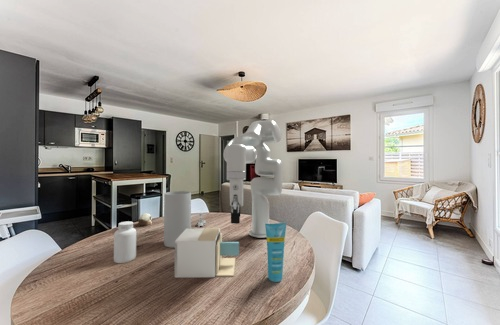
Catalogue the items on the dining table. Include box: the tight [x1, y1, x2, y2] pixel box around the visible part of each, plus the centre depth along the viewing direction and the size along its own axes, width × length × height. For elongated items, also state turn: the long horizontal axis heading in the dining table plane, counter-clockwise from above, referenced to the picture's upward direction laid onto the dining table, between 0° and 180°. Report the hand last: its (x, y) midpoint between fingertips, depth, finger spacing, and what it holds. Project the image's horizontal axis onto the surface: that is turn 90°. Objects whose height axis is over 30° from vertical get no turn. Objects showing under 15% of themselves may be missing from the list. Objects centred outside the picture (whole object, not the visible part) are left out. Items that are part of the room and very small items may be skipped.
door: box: [219, 232, 240, 262], centre depth 83 cm, size 8×7×10 cm
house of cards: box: [196, 213, 207, 227], centre depth 133 cm, size 9×9×8 cm
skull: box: [134, 212, 153, 227], centre depth 131 cm, size 12×10×10 cm
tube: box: [265, 222, 287, 283], centre depth 72 cm, size 7×5×19 cm, turn 103°
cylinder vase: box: [163, 190, 192, 249], centre depth 103 cm, size 12×12×25 cm
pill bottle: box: [113, 220, 137, 264], centre depth 85 cm, size 8×8×15 cm
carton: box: [174, 227, 236, 278], centre depth 79 cm, size 20×14×13 cm
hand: (235, 219), depth 81 cm, fingers open, 9 cm apart
